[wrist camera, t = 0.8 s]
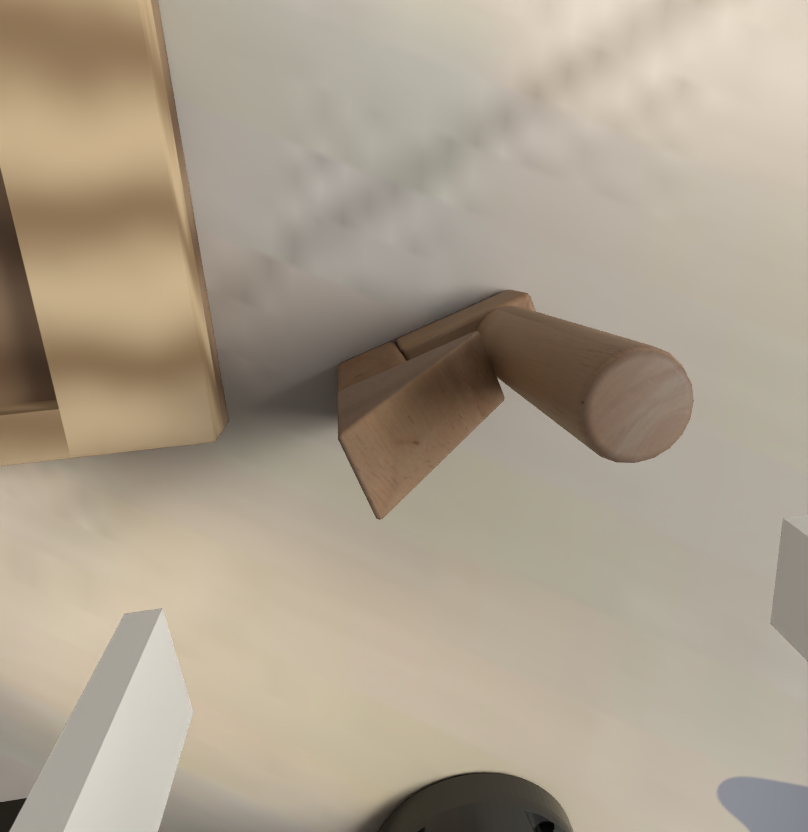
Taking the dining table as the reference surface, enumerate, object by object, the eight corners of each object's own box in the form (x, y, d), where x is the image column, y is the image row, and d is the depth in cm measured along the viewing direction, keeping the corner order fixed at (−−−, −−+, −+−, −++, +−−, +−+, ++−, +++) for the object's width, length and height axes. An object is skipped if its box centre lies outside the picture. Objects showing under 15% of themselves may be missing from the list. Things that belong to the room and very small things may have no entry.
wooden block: (335, 364, 35) (335, 475, 17) (510, 286, 35) (685, 320, 17) (361, 421, 36) (386, 580, 18) (531, 346, 36) (717, 434, 18)
